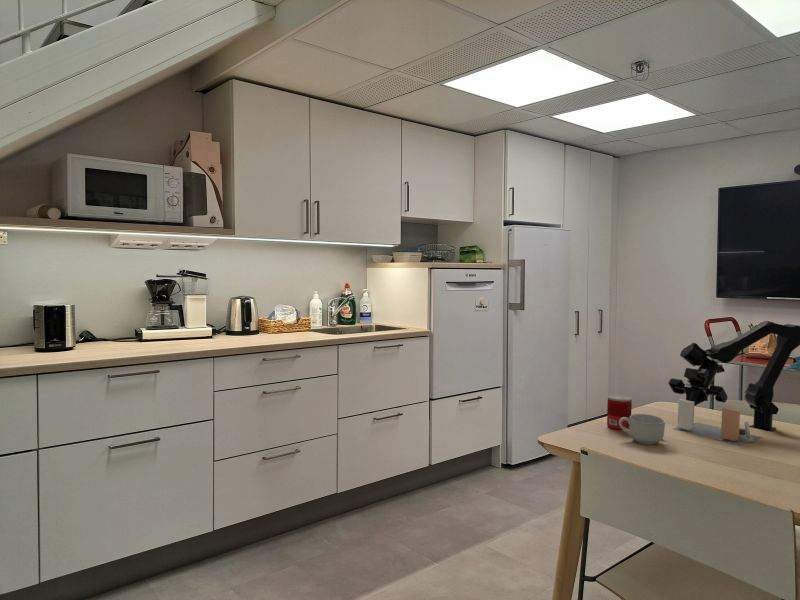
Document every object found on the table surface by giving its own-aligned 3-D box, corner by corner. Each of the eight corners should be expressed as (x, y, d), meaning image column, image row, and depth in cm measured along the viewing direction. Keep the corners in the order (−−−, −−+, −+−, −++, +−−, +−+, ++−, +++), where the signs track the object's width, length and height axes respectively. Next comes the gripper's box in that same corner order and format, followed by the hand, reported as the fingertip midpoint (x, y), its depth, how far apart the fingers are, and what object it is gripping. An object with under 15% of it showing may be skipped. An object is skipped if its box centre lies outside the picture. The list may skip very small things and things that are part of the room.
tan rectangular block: (724, 436, 188) (725, 407, 187) (740, 439, 184) (741, 410, 183) (719, 437, 186) (720, 408, 186) (735, 441, 182) (736, 411, 181)
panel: (697, 425, 206) (697, 405, 206) (763, 440, 188) (764, 418, 187) (672, 431, 197) (673, 410, 197) (739, 448, 179) (740, 425, 179)
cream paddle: (680, 426, 199) (681, 398, 199) (694, 429, 195) (695, 401, 195) (676, 427, 198) (677, 399, 197) (690, 430, 194) (691, 402, 193)
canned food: (632, 431, 197) (633, 400, 196) (608, 429, 199) (609, 398, 198) (628, 425, 204) (629, 395, 204) (605, 424, 206) (606, 394, 206)
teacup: (664, 439, 187) (665, 416, 187) (664, 448, 178) (665, 423, 177) (619, 434, 193) (620, 411, 193) (617, 442, 183) (618, 418, 183)
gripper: (672, 356, 207) (653, 389, 201) (724, 363, 191) (705, 399, 185) (683, 375, 211) (665, 408, 206) (735, 384, 196) (717, 420, 190)
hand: (687, 408), depth 197 cm, fingers closed, pressing on cream paddle
